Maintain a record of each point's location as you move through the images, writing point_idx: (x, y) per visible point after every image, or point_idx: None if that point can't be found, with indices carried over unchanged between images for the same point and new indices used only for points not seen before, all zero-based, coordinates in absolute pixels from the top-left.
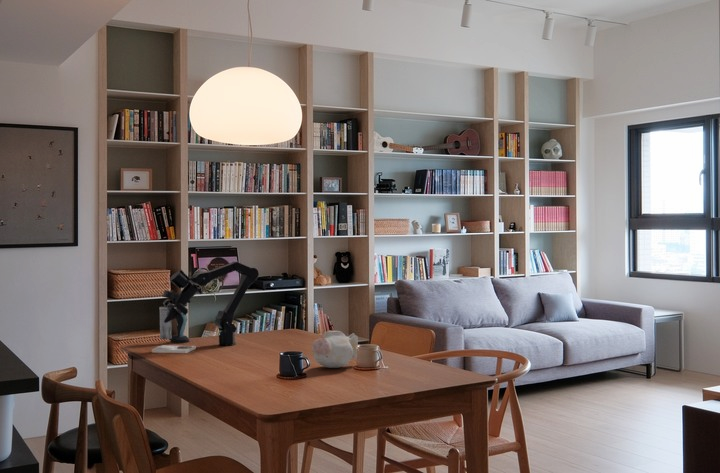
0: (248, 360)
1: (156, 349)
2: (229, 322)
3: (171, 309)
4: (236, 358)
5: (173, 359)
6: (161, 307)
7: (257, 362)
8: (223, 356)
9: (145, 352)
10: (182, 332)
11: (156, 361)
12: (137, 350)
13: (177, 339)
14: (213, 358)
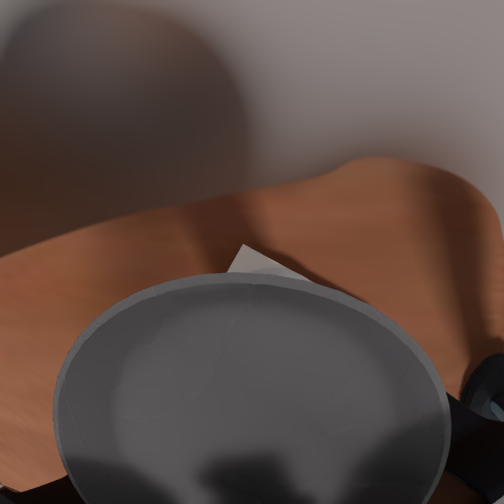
0: (18, 471)
1: (241, 271)
2: None
3: (53, 489)
4: (38, 471)
5: (45, 311)
6: (159, 354)
7: (3, 466)
8: (64, 468)
9: (262, 216)
10: (501, 419)
11: (39, 245)
12: (342, 184)
13: (475, 392)
14: (39, 430)
